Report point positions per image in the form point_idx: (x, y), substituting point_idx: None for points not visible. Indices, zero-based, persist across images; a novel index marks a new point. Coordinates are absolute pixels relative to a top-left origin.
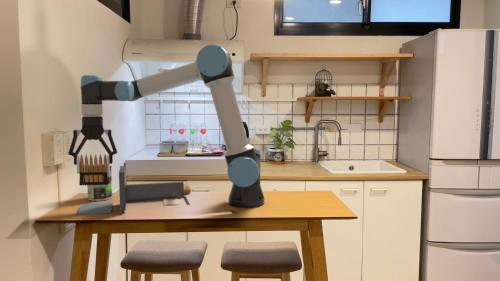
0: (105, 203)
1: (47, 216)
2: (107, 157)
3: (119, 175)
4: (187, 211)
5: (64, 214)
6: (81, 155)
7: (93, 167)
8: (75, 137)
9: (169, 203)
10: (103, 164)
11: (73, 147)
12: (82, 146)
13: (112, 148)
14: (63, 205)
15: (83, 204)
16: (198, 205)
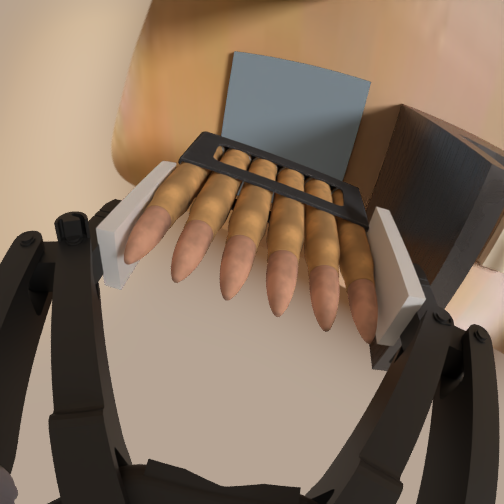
0: (337, 82)
1: (126, 158)
2: (378, 334)
3: (373, 356)
4: (495, 301)
5: (174, 155)
6: (131, 262)
7: (266, 224)
8: (7, 446)
9: (500, 256)
10: (342, 274)
11: (36, 343)
12: (109, 376)
13: (433, 408)
14: (163, 15)
15: (241, 54)
16: None
